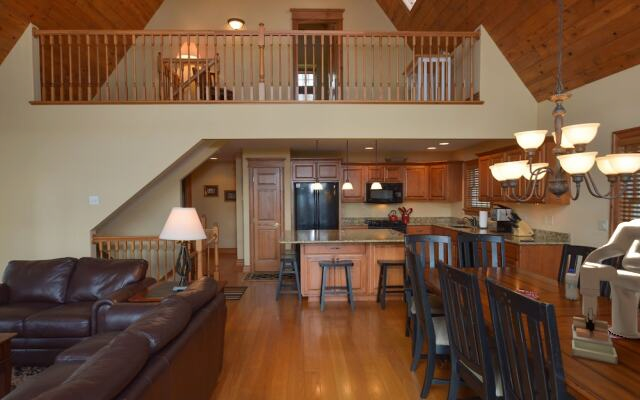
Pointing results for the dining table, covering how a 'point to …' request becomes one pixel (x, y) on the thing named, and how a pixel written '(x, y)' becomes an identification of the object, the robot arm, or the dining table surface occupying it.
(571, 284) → the bottle
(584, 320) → the tan long block
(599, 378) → the dining table surface
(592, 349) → the box
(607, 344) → the bench board
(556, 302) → the dining table surface
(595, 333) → the tile
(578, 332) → the tile
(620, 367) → the dining table surface
